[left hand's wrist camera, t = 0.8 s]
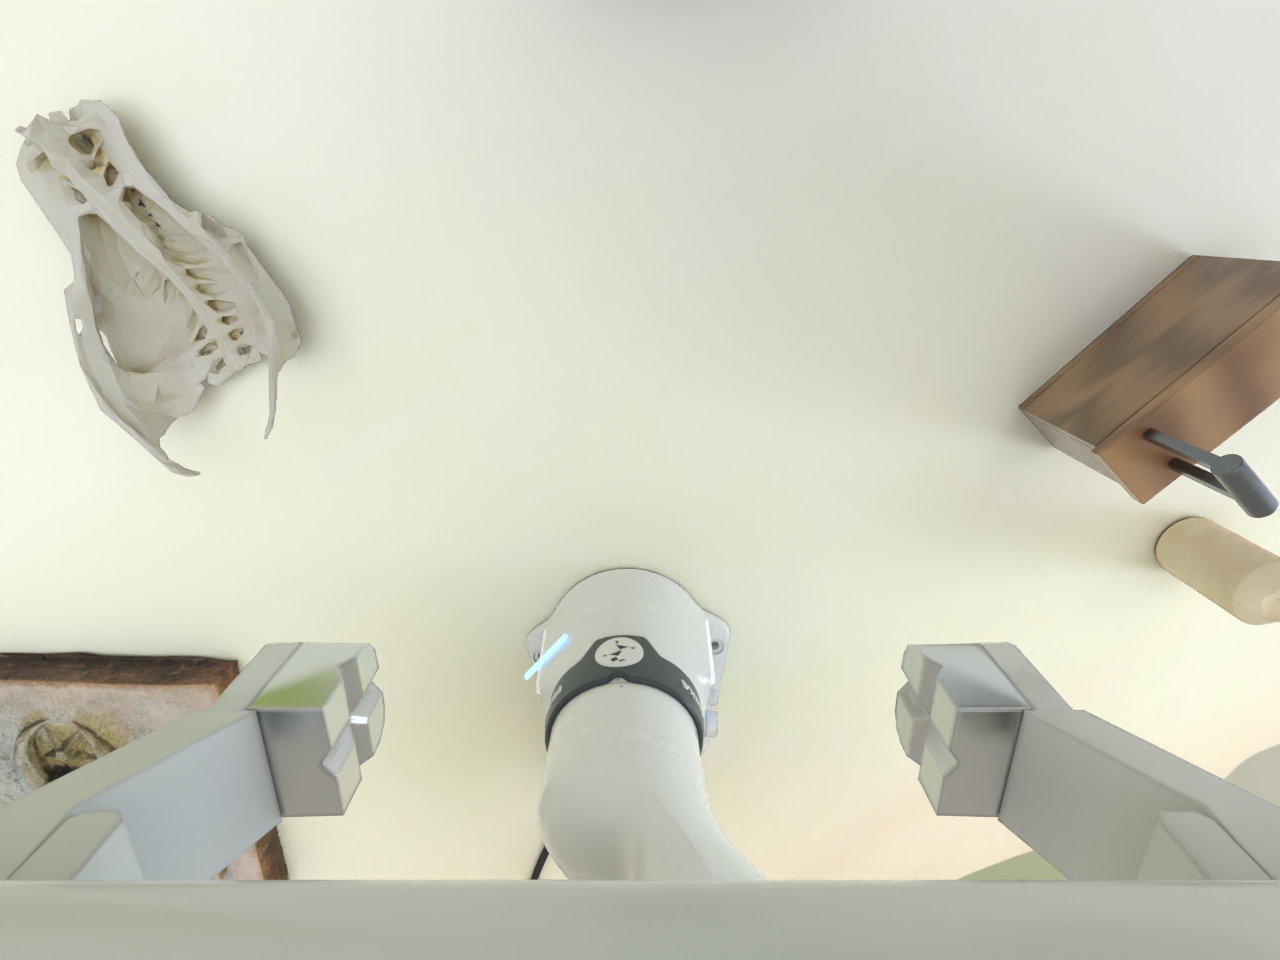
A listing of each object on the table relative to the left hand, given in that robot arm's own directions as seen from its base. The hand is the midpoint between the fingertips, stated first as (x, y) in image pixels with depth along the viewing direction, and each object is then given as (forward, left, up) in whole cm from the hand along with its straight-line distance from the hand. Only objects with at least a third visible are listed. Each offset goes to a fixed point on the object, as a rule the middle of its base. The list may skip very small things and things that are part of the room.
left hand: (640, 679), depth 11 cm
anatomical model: (+4, +34, -46) cm, 58 cm away
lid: (-7, -38, -36) cm, 52 cm away
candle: (-24, -47, -46) cm, 70 cm away
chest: (-6, -38, -46) cm, 60 cm away
